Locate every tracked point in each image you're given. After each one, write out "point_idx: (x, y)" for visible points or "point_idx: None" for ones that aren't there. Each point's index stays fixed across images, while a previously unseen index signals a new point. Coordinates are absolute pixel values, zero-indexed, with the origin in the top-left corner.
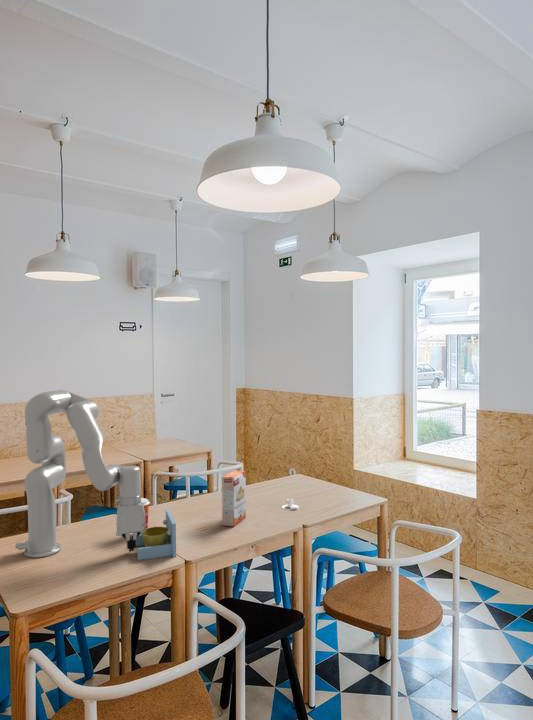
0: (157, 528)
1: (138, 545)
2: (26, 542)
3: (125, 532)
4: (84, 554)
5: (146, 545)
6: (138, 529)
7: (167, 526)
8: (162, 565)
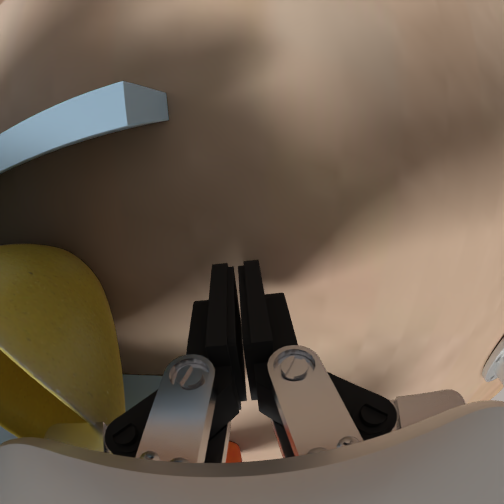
0: None
1: None
2: None
3: (407, 454)
4: (474, 308)
5: (81, 290)
6: (66, 495)
7: (2, 427)
8: (14, 8)
